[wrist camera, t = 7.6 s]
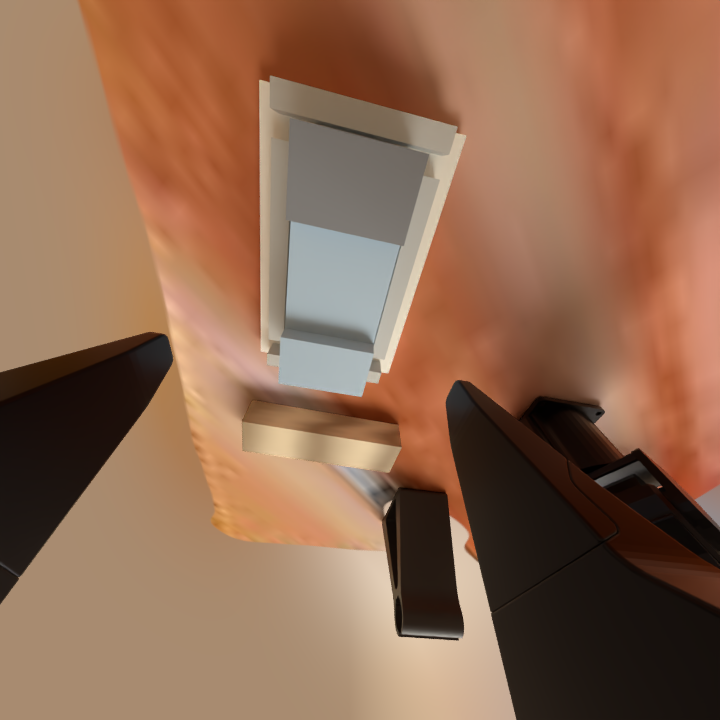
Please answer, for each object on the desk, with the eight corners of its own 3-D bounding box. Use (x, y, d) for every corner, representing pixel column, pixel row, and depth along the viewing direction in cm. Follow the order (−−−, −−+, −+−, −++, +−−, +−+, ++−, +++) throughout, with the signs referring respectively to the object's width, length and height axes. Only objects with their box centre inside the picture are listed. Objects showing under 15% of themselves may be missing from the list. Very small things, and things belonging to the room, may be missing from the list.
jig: (265, 85, 13) (247, 69, 11) (460, 137, 14) (476, 131, 12) (264, 344, 22) (254, 362, 19) (387, 366, 23) (389, 385, 21)
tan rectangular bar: (398, 422, 27) (401, 447, 24) (386, 447, 29) (389, 472, 27) (253, 397, 25) (241, 421, 23) (253, 426, 28) (242, 451, 25)
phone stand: (423, 526, 38) (443, 649, 28) (381, 521, 38) (387, 645, 28) (446, 492, 33) (481, 627, 23) (399, 486, 33) (414, 622, 23)
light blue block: (362, 352, 21) (361, 396, 17) (295, 340, 20) (278, 383, 16) (410, 159, 14) (429, 154, 10) (312, 134, 13) (290, 117, 9)
